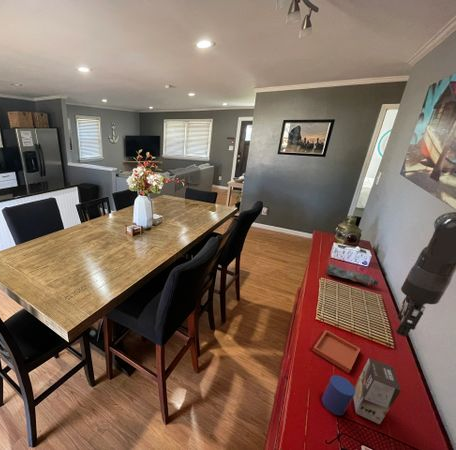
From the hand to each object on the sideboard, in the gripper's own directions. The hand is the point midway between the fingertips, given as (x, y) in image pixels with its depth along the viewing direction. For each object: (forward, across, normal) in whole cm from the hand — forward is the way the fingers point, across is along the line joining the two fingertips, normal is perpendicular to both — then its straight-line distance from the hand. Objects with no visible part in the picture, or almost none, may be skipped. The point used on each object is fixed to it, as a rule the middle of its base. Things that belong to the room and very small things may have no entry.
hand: (401, 326), depth 72 cm
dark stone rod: (+30, +80, +16) cm, 87 cm away
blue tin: (+30, -14, +7) cm, 34 cm away
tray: (+30, +12, +11) cm, 34 cm away
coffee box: (+30, -6, -1) cm, 31 cm away
